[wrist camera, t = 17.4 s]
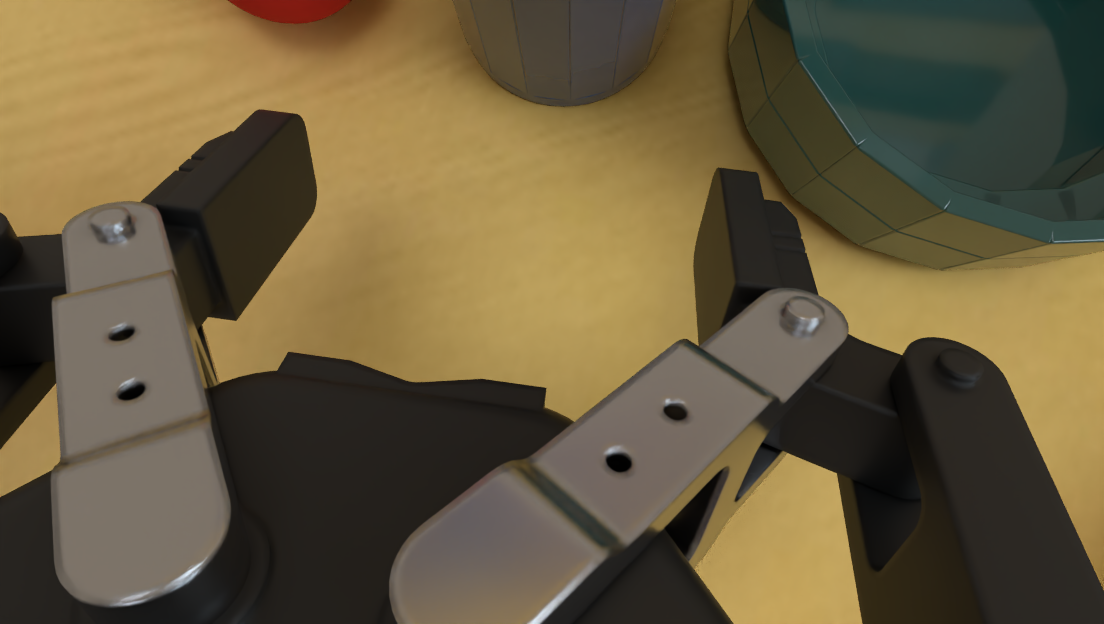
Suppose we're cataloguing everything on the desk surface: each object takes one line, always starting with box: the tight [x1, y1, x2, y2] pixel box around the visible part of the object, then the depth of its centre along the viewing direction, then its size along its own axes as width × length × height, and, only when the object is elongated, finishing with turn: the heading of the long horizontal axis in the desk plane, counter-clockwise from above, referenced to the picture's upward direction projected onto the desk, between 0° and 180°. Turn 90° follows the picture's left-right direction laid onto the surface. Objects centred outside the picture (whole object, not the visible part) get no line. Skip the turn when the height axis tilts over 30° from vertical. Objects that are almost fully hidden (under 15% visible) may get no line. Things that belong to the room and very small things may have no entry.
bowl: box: [728, 0, 1104, 270], centre depth 17 cm, size 13×13×5 cm
